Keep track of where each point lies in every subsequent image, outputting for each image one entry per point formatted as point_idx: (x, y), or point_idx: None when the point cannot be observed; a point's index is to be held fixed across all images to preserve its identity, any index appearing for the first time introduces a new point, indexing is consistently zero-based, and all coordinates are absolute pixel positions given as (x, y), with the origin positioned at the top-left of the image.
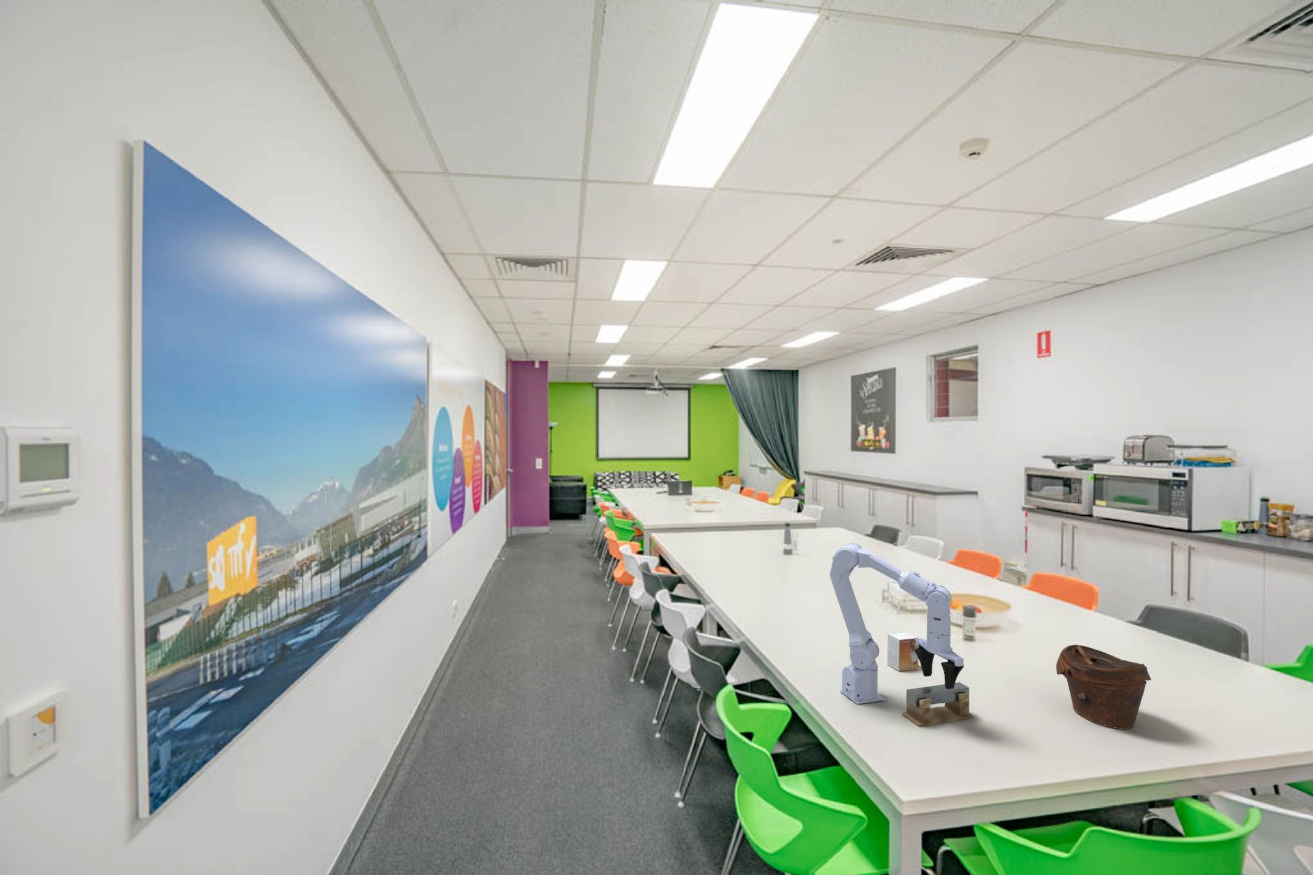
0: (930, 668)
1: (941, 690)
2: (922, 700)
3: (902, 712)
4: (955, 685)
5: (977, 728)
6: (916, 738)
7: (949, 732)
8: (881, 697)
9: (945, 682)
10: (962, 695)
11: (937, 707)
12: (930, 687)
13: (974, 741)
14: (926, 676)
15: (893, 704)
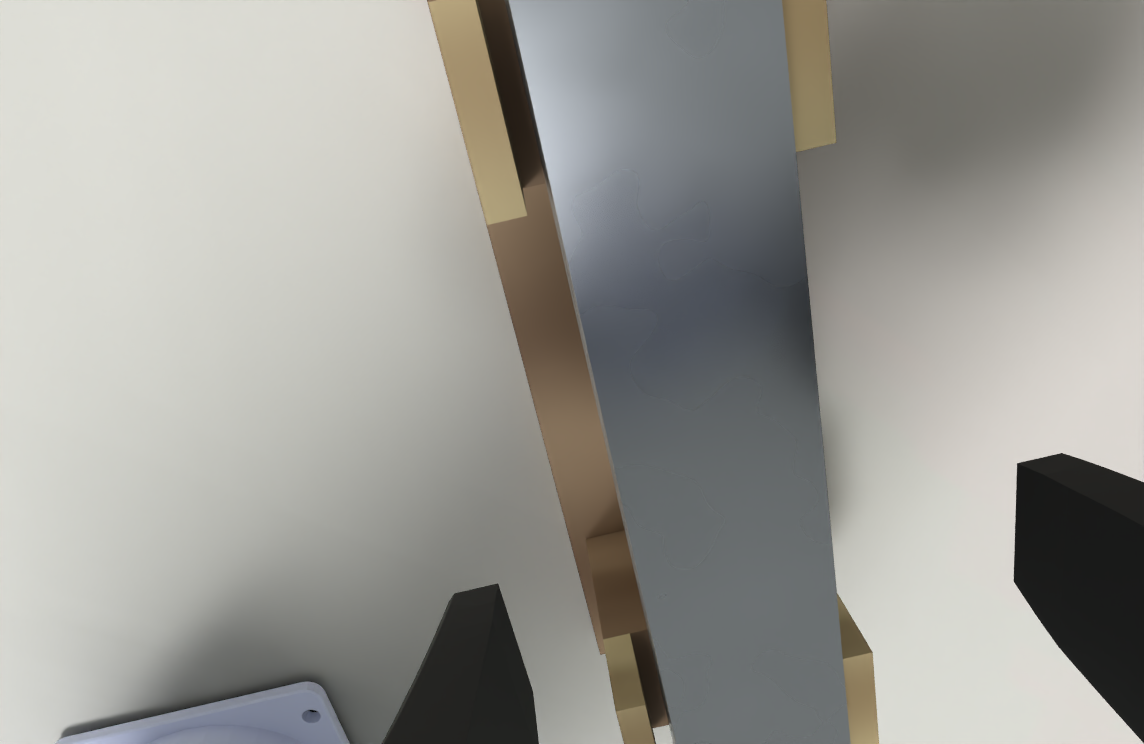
0: (494, 718)
1: (804, 494)
2: (874, 740)
3: (601, 653)
4: (647, 112)
5: (932, 20)
6: (941, 671)
7: (928, 382)
8: (289, 704)
9: (1114, 683)
10: (830, 95)
11: (504, 265)
12: (682, 599)
13: (1119, 236)
14: (525, 671)
15: (389, 627)
